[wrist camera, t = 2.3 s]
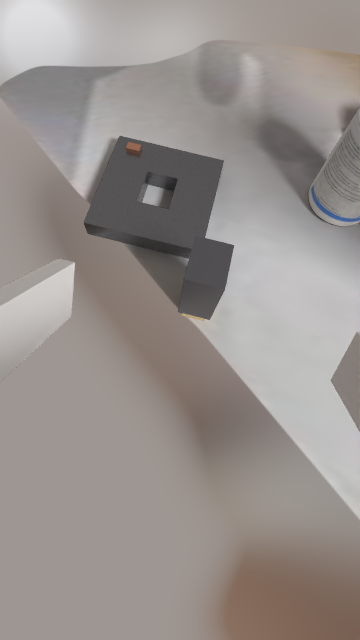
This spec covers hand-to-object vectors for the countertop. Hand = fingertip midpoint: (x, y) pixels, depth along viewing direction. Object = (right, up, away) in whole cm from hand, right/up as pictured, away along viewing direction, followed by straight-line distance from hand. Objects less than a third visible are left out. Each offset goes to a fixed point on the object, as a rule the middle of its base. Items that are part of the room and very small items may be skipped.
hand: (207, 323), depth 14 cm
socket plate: (-5, +18, +31) cm, 36 cm away
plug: (+1, +2, +26) cm, 26 cm away
